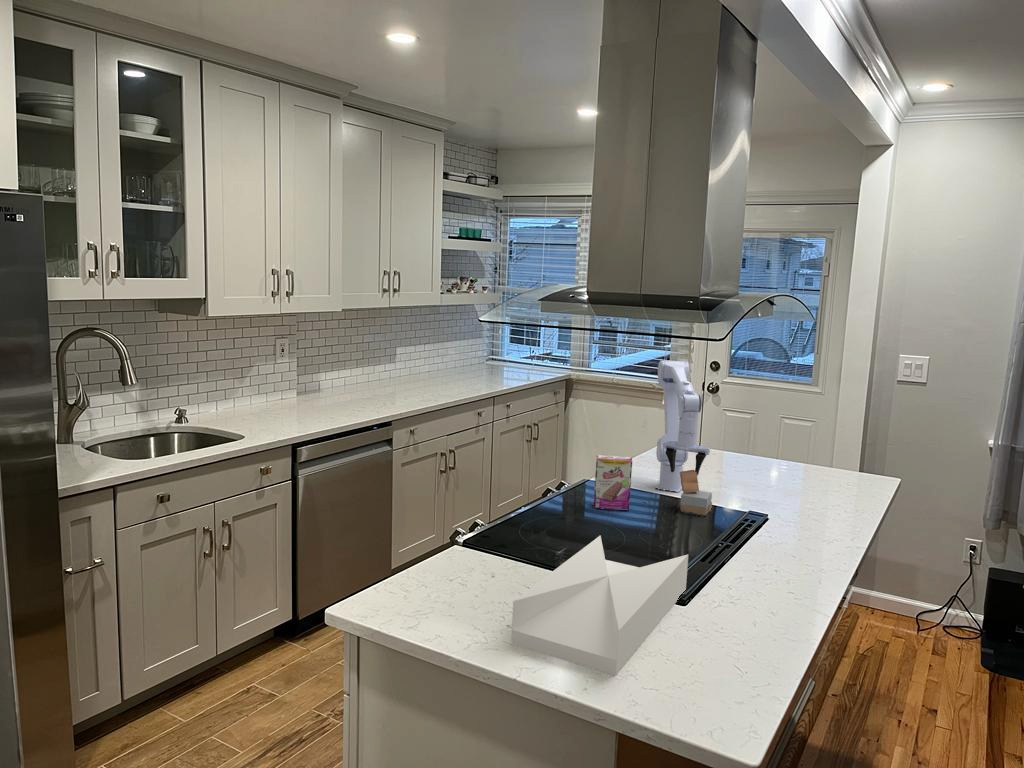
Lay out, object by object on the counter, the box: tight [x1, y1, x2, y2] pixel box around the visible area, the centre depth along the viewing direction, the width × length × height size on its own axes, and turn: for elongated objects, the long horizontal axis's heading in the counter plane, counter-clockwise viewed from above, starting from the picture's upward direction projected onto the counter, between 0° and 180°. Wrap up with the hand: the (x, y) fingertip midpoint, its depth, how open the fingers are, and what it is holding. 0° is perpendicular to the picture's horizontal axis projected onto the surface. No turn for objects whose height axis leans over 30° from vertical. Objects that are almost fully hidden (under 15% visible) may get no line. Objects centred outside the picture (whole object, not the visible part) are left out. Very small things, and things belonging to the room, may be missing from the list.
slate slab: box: [680, 490, 713, 509], centre depth 242 cm, size 8×8×3 cm
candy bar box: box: [593, 454, 633, 511], centre depth 241 cm, size 11×5×16 cm, turn 84°
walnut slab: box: [679, 501, 713, 515], centre depth 242 cm, size 8×8×3 cm
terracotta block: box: [679, 469, 700, 493], centre depth 244 cm, size 4×4×6 cm
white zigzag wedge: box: [511, 535, 689, 677], centre depth 167 cm, size 45×22×10 cm, turn 151°
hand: (684, 473), depth 247 cm, fingers open, 7 cm apart
